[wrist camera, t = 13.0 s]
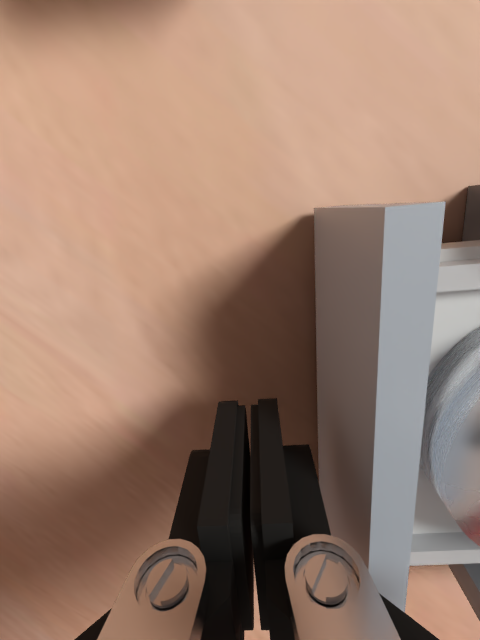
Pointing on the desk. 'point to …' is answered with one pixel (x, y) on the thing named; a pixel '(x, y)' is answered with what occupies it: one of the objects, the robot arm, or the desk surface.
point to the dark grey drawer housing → (473, 577)
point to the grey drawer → (387, 379)
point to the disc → (455, 433)
